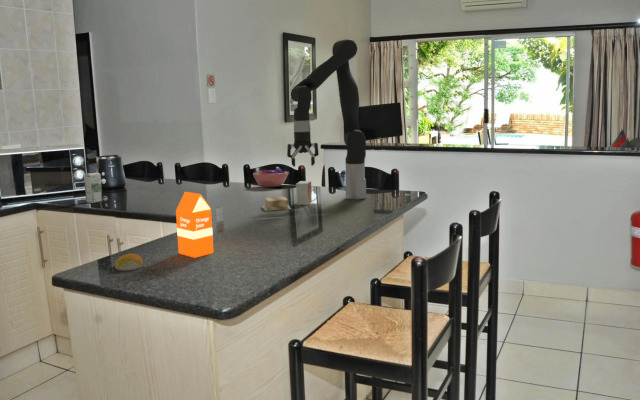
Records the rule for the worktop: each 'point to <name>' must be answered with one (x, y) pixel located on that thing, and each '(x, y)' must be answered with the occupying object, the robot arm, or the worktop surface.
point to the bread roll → (128, 262)
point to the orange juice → (194, 226)
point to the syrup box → (93, 187)
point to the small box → (303, 193)
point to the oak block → (276, 203)
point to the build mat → (277, 209)
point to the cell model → (270, 177)
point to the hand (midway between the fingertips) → (303, 165)
